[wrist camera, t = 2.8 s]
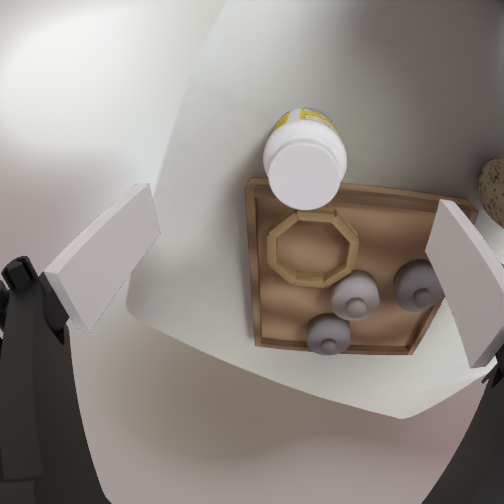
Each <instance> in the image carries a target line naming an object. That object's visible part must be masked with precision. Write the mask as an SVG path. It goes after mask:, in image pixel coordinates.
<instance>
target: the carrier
mask: <svg viewBox="0 0 504 504" xmlns="http://www.w3.org/2000/svg"><path fill="white" fill-rule="evenodd" d="M440 199H443V200H449V201H454V202H455V204H456V205H457V206H458V207H459V208H460V209H461V211H462V212H463V213H464V214H465V215H466V217H467V218H468V219H469V220H470V222H471V223H472V224H473V225H474V224H475V221H476V218H477V215H478V211H477V210H476V209H475V208H474V206H473V205H472V204H471V203H470V202H469V201H468V200H465V199H460V198H454V197H448V196H442V195H436V194H430V193H423V192H416V191H409V190H402V189H394V188H386V187H377V186H368V185H358V184H348V183H340V186H339V189H338V191H337V193H336V195H335V196H334V197H333V199H332V200H331V201H330V202H328V203H327V204H326V205H324V206H322V207H320V208H317V209H312V210H299V209H294V208H291V207H289V206H287V205H285V204H284V203H282V202H281V201H280V200H279V199H278V198H277V197H276V196H275V195H274V193H273V192H272V189H271V187H270V184H269V179H268V178H250V180H249V181H248V183H247V185H246V187H245V202H246V218H247V233H248V249H249V264H250V280H251V295H252V310H253V325H254V340H255V346H259V347H267V348H277V349H286V350H297V351H309V352H315V353H317V354H321V355H334V354H338V353H340V354H365V355H412V354H413V353H414V351H415V350H416V348H417V346H418V345H419V343H420V341H421V340H422V338H423V336H424V335H425V333H426V331H427V329H428V328H429V326H430V324H431V322H432V320H433V318H434V317H435V315H436V313H437V311H438V309H439V307H440V305H441V303H442V301H443V299H444V297H445V294H444V291H443V289H442V287H441V284H440V282H439V280H438V277H437V275H436V273H435V271H434V269H433V266H432V264H431V262H430V260H429V258H428V256H427V254H426V252H425V250H426V246H427V243H428V240H429V237H430V234H431V230H432V227H433V223H434V220H435V216H436V212H437V209H438V205H439V201H440Z"/></svg>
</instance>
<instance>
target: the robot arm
mask: <svg viewBox="0 0 504 504" xmlns="http://www.w3.org/2000/svg"><path fill="white" fill-rule="evenodd" d="M160 234H161V233H160V229H159V225H158V221H157V216H156V212H155V207H154V203H153V198H152V194H151V189H150V184H136V185H135V186H133V187H132V188H131V189H130V190H128V191H127V192H126V193H125V194H124V195H122V196H121V197H120V198H119V199H118V200H117V201H115V203H113V204H112V205H111V206H110V207H109V208H107V209H106V210H105V211H104V212H103V213H102V214H101V215H100V216H99V217H97V218H96V219H95V220H94V221H93V222H92V223H91V224H90V225H89V226H88V227H87V228H85V229H84V230H83V231H82V232H81V233H80V234H79V235H78V236H77V237H76V238H75V239H74V240H73V241H72V242H71V243H70V244H69V245H68V246H67V247H66V248H65V249H64V250H63V251H62V252H61V253H60V254H59V255H58V256H57V257H56V258H55V259H54V260H53V261H52V262H51V263H50V265H49V266H48V267H47V268H46V269H45V270H44V271H43V272H42V273H41V275H40V276H39V277H38V275H37V273H36V272H35V270H34V268H33V266H32V264H31V262H30V259H29V258H28V257H27V256H21V257H18V258H16V259H14V260H12V261H11V262H10V263H9V264H7V266H6V267H5V268H4V269H3V271H2V273H1V274H2V276H3V278H4V280H5V281H6V283H7V285H8V287H9V288H10V290H7V288H6V286H5V285H4V283H3V281H1V280H0V329H1V330H2V331H3V333H4V334H3V339H1V337H0V504H111V502H109V500H108V499H107V498H106V497H105V495H104V493H103V491H102V488H101V486H100V483H99V480H98V477H97V474H96V471H95V468H94V465H93V461H92V458H91V455H90V451H89V447H88V444H87V440H86V436H85V432H84V428H83V424H82V419H81V415H80V410H79V404H78V399H77V393H76V387H75V381H74V374H73V366H72V358H71V349H70V336H69V329H68V326H67V325H66V321H67V320H68V319H69V318H70V319H71V321H72V322H73V324H74V326H75V327H76V328H77V329H80V330H83V331H87V332H89V333H90V332H91V331H92V330H93V328H94V326H95V325H96V323H97V322H98V320H99V319H100V317H101V316H102V314H103V313H104V311H105V310H106V308H107V307H108V305H109V304H110V302H111V300H112V299H113V298H114V296H115V295H116V293H117V292H118V291H119V289H120V288H121V286H122V285H123V283H124V282H125V281H126V279H127V278H128V276H129V275H130V274H131V272H132V271H133V270H134V268H135V267H136V265H137V264H138V263H139V261H140V260H141V259H142V257H143V256H144V255H145V253H146V252H147V251H148V249H149V248H150V247H151V245H152V244H153V243H154V241H155V240H156V239H157V238H158V236H159V235H160ZM425 252H426V254H427V256H428V258H429V260H430V262H431V264H432V266H433V269H434V271H435V273H436V275H437V277H438V280H439V282H440V284H441V287H442V289H443V291H444V294H445V296H446V299H447V301H448V304H449V306H450V309H451V311H452V314H453V317H454V319H455V322H456V325H457V328H458V330H459V333H460V336H461V339H462V342H463V345H464V349H465V352H466V355H467V359H468V362H469V365H470V368H478V367H485V366H487V364H488V363H489V362H490V361H491V360H492V358H493V357H494V356H496V359H497V362H498V363H497V364H496V365H495V366H494V368H493V369H492V370H491V371H490V372H489V373H488V374H487V375H486V376H485V378H484V379H483V380H482V383H484V382H485V381H486V380H487V379H489V381H488V384H487V385H486V389H485V391H484V394H483V396H482V399H481V401H480V404H479V406H478V408H477V411H476V413H475V415H474V417H473V419H472V422H471V424H470V426H469V428H468V430H467V432H466V434H465V436H464V438H463V440H462V441H461V443H460V445H459V447H458V449H457V450H456V452H455V454H454V456H453V458H452V459H451V461H450V462H449V464H448V466H447V467H446V469H445V471H444V472H443V474H442V475H441V477H440V478H439V480H438V482H437V483H436V484H435V486H434V487H433V489H432V490H431V492H430V493H429V494H428V496H427V497H426V498H425V500H424V501H423V502H422V504H504V265H503V264H502V263H501V262H500V261H499V260H498V258H497V257H496V255H495V254H494V252H493V251H492V249H491V248H490V247H489V245H488V244H487V242H486V241H485V240H484V238H483V237H482V236H481V234H480V233H479V232H478V230H477V229H476V228H475V227H474V225H473V224H472V223H471V222H470V220H469V219H468V218H467V217H466V215H465V214H464V213H463V212H462V211H461V209H460V208H459V207H458V206H457V205H456V204H455V202H454V201H449V200H443V199H440V201H439V205H438V209H437V212H436V216H435V220H434V223H433V227H432V230H431V234H430V237H429V240H428V243H427V246H426V250H425Z"/></svg>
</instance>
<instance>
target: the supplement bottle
mask: <svg viewBox="0 0 504 504" xmlns="http://www.w3.org/2000/svg"><path fill="white" fill-rule="evenodd" d="M263 164H264V169H265V172H266V174H267V176H268V179H269V184H270V187H271V189H272V192H273V193H274V195H275V196H276V197H277V198H278V199H279V200H280V201H281V202H282V203H284V204H285V205H287V206H289V207H291V208H294V209H299V210H312V209H317V208H320V207H322V206H324V205H326V204H327V203H328V202H330V201H331V200H332V199H333V197H334V196H335V195H336V193H337V191H338V189H339V186H340V183H341V181H342V179H343V177H344V175H345V172H346V168H347V156H346V151H345V148H344V145H343V143H342V141H341V139H340V136H339V134H338V132H337V130H336V128H335V126H334V124H333V123H332V121H331V120H330V119H329V118H328V117H327V116H326V115H325V114H323V113H322V112H320V111H318V110H315V109H311V108H298V109H294V110H291V111H289V112H288V113H286V114H285V115H284V116H282V118H281V119H280V120H279V121H278V122H277V124H276V126H275V128H274V130H273V132H272V133H271V135H270V137H269V139H268V141H267V143H266V146H265V149H264V154H263Z"/></svg>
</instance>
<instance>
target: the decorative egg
mask: <svg viewBox="0 0 504 504" xmlns="http://www.w3.org/2000/svg"><path fill="white" fill-rule="evenodd" d="M478 194H479V198H480V201H481V203H482V205H483V207H484V209H485V211H486V212H487V213H488V215H489V216H490V217H491V218H492V219H493V220H494V221H495V222H496V223H497V224H498V225H500V226H501V227H502V228H504V158H496V159H492V160H490V161H489V162H487V163H486V164H485V165H484V166H483V168H482V169H481V171H480V174H479V177H478Z"/></svg>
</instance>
